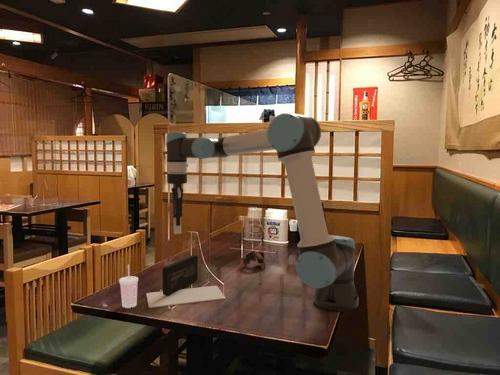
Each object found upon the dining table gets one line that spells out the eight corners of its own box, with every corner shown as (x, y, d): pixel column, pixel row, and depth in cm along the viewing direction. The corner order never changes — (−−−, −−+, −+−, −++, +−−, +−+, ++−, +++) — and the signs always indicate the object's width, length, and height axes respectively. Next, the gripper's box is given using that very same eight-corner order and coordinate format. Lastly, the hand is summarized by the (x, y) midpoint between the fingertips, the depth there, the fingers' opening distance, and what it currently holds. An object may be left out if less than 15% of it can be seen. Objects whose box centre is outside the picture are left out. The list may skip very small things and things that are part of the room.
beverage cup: (119, 309, 128) (118, 267, 127) (120, 302, 134) (118, 262, 133) (139, 307, 130) (138, 266, 129) (138, 300, 136) (137, 261, 135)
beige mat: (225, 299, 138) (225, 297, 138) (148, 308, 130) (148, 307, 130) (216, 286, 150) (216, 285, 150) (146, 294, 142) (146, 293, 142)
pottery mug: (261, 273, 169) (251, 256, 168) (245, 278, 174) (236, 262, 173) (273, 259, 178) (264, 243, 178) (257, 264, 184) (248, 249, 183)
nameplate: (167, 296, 139) (166, 268, 138) (162, 295, 139) (162, 267, 139) (197, 279, 158) (197, 254, 157) (193, 279, 159) (193, 254, 158)
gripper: (189, 174, 147) (190, 236, 149) (184, 171, 159) (184, 229, 162) (169, 174, 144) (170, 237, 147) (165, 172, 157) (166, 230, 159)
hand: (177, 233), depth 154 cm, fingers closed
